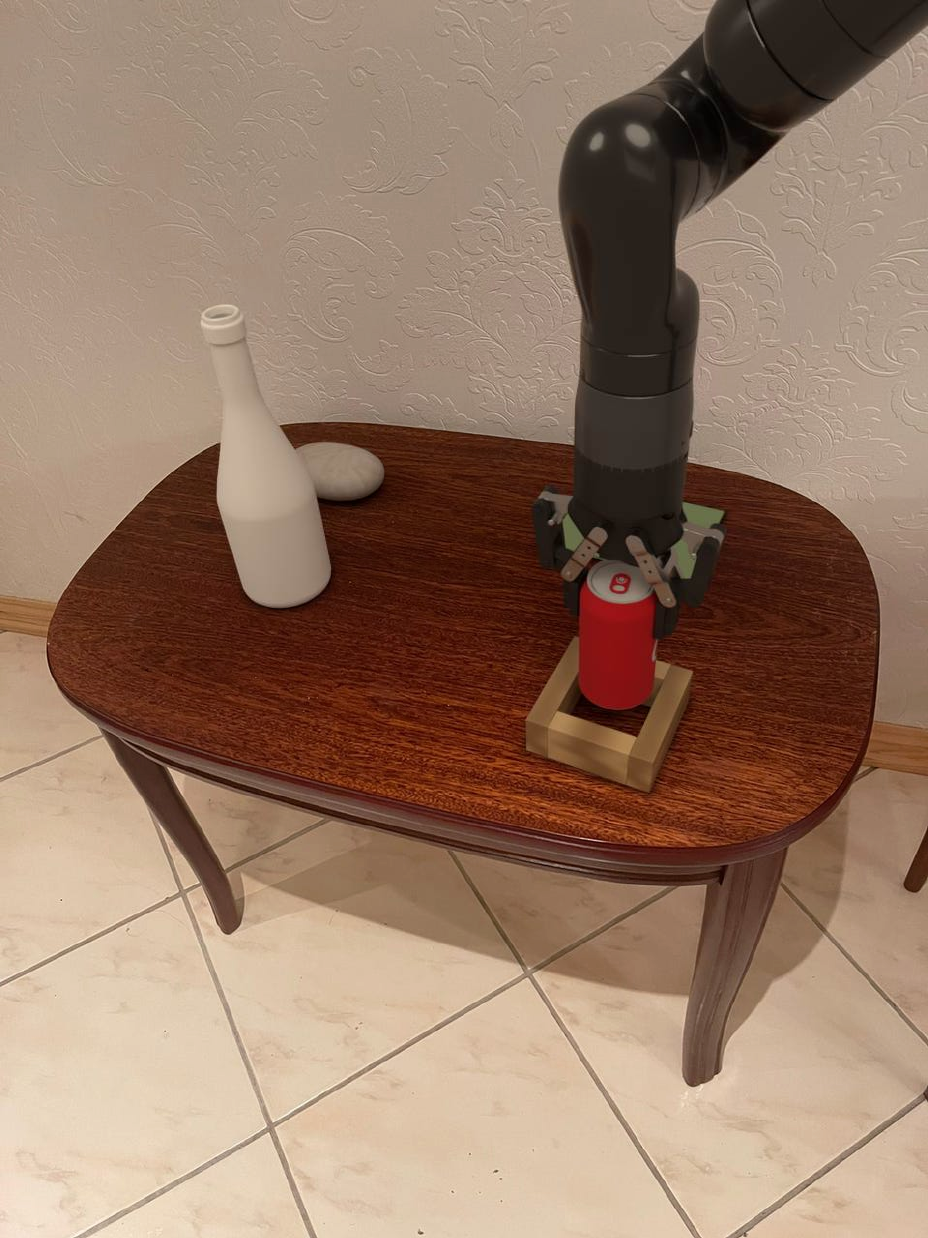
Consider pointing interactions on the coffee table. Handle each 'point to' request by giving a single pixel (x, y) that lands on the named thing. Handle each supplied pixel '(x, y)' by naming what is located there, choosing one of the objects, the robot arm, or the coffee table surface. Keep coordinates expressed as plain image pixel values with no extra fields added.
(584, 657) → the beverage can
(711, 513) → the pad
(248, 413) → the wine bottle
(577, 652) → the stand
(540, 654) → the coffee table surface
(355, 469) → the decorative stone
